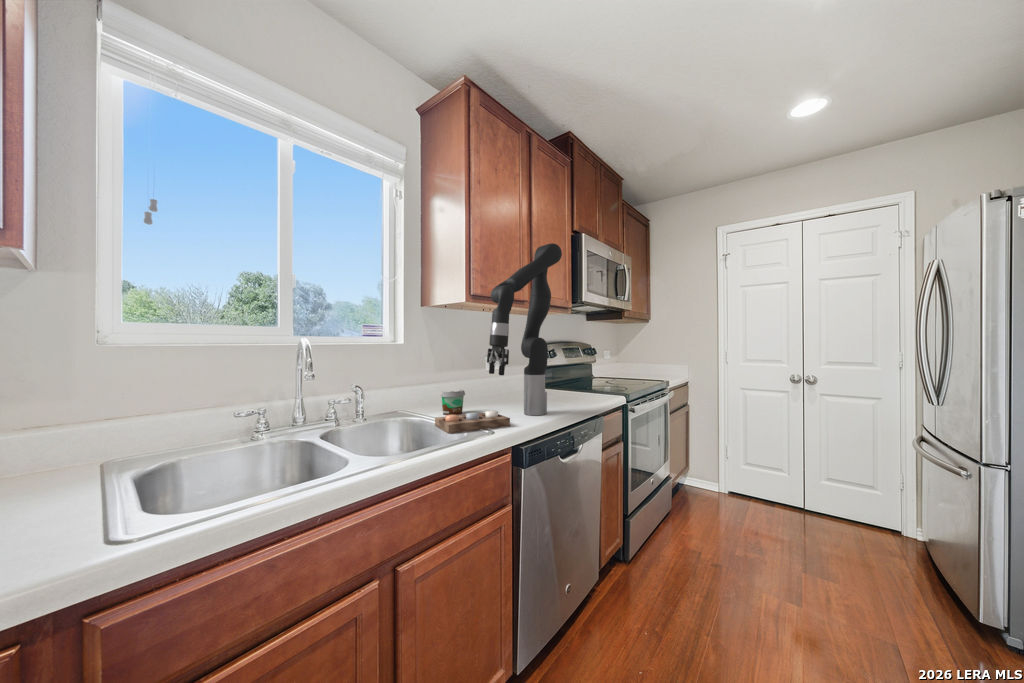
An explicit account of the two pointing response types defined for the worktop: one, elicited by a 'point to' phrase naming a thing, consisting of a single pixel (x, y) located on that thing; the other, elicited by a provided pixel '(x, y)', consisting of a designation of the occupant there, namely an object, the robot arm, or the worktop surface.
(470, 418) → the slate button
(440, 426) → the button panel
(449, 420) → the terracotta button
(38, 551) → the worktop surface
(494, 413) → the cream button
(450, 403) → the food container
